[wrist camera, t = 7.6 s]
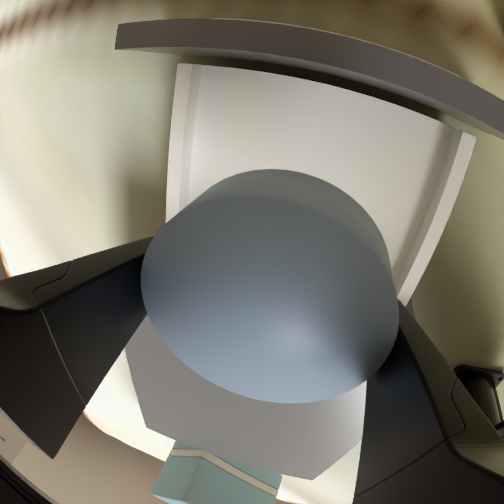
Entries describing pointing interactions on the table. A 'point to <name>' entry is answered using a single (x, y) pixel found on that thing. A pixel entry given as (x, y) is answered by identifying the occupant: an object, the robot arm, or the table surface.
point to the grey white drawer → (320, 124)
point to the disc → (273, 288)
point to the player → (241, 414)
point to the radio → (212, 480)
